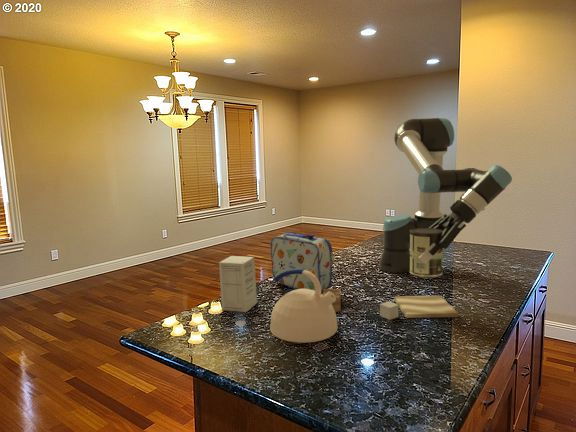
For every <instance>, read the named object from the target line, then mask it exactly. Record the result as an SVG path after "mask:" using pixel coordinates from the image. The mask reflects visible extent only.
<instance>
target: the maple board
mask: <svg viewBox="0 0 576 432" xmlns="http://www.w3.org/2000/svg"><path fill="white" fill-rule="evenodd" d="M394 301H395V304H397V305H399V309H400V310H401V312H402V314H403V315H404V317H405V318H406V319H408V318H409V319H416V318H420V319H421V318H422V317H425V318H459V312H458V311H457V310H456V309H455V308H454V307H453V306H452V305H451V304H449V302H447V301H446V299H445V298H444V297H443V296H441V295H405V296H403V295H401V296H399V295H397V296H394Z"/></svg>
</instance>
